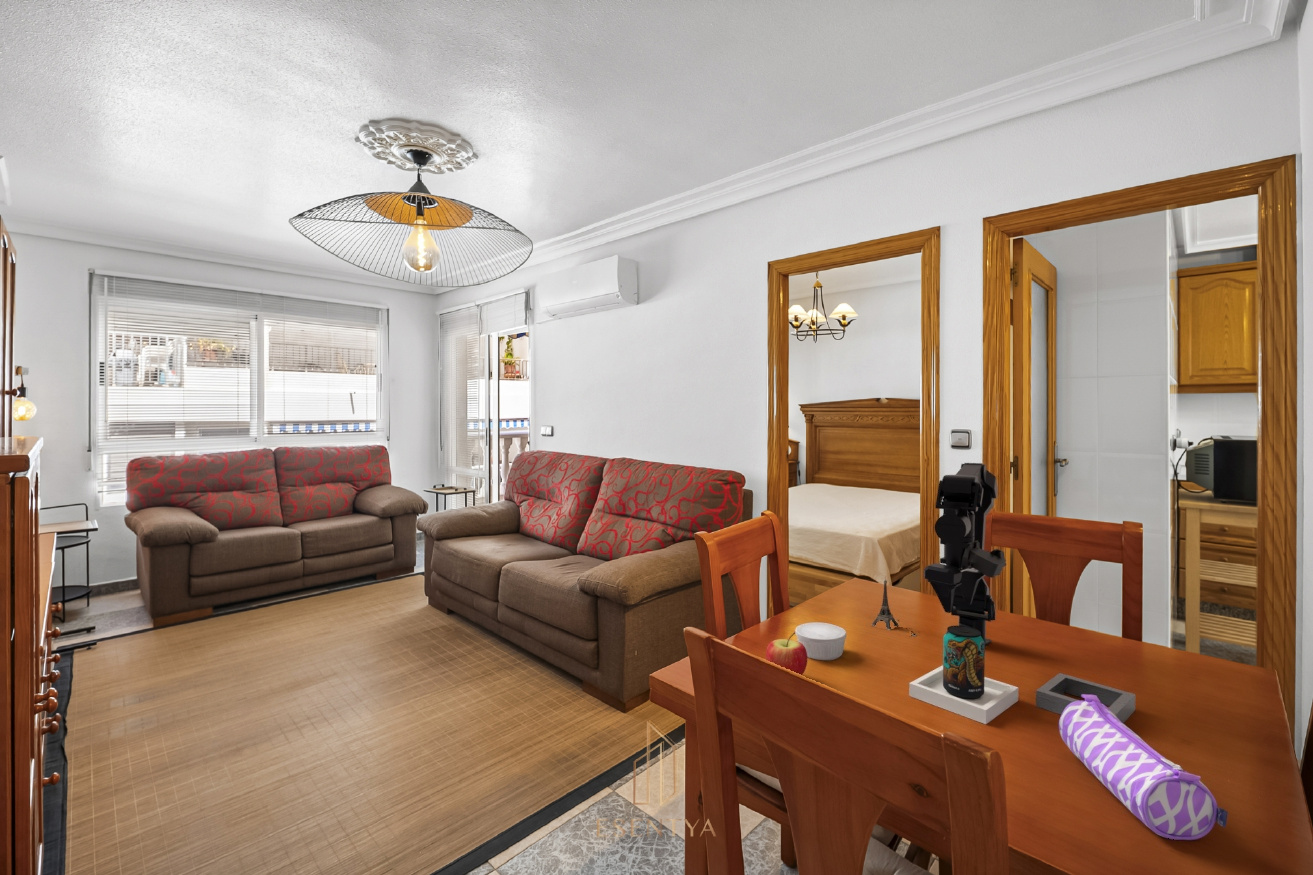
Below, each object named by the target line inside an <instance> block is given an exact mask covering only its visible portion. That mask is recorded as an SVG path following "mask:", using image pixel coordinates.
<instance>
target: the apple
mask: <svg viewBox="0 0 1313 875" xmlns="http://www.w3.org/2000/svg"><path fill="white" fill-rule="evenodd" d="M794 635H796V633H795V631H794V632H793V633H792V634H791V635H790V636H789V637H788V639H787V638H779V639H775V640H772V641H770V643H768V645H767V647H766V653H765V654H766V656H765V657H766V658H765V660H766V661H767V660H768V661H770V662H774V663H775V664H777V665H780V666H781V667H785V668H786V669H790V670H791V671H794V672H796V673H799V674H801V675H802V676H803V675H804V674H805V671H806V669H807V666H808V657H807V651H806V648H805V646H804V645H803V644H802V643H800V642H798V640H794V639H791V638H792V637H793V636H794Z"/></svg>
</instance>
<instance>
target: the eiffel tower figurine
mask: <svg viewBox="0 0 1313 875" xmlns="http://www.w3.org/2000/svg"><path fill="white" fill-rule="evenodd" d="M886 577H887V576H886V575H885V576H884V580H883V593H882V594H883V595H882V596H883V597H882V604H881V605H880V611H879V613H878V614H877V616H876V618H874V621H873V622H872V623H871V624H870V625H873V626H872V627H874V626H875V625H876V623H877V622H879V621H884V622H885V623H886V627H887V630H886V631H889V630H891V627H890V621H891V620H892V622H893V623H894V626H899V625H898V623H897V622H896V621H895V619H896V618H895V617H894V615H893V614H892V613H891V610H890V609H891V608H890V605H889V600H888V591H887V590H888V587H887V583H888V581H887V579H886ZM891 631H892V630H891ZM911 634H912V633H911ZM914 634H915V632H913V635H911V636H910V637H917V634H915V635H914Z"/></svg>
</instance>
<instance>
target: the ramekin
mask: <svg viewBox="0 0 1313 875" xmlns="http://www.w3.org/2000/svg"><path fill="white" fill-rule="evenodd" d="M794 632H795V636H796V641H798V642H800V643H802V644H803V645H804V646H805V648H806V651H807V658H808V659H813V660H816V661H833V660H837V659H839V658H840V657H841V656H842V655H843V653H844V648H845V641H846V639H847V631H846V630H845V629H844V628H843V627H840V626H838V625H835V624H831V623H828V622H827V623H826V622H816V621H815V622H805V623H802V624H799V625H798V626H796V627H795V631H794Z"/></svg>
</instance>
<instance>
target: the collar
mask: <svg viewBox="0 0 1313 875" xmlns="http://www.w3.org/2000/svg"><path fill="white" fill-rule="evenodd" d="M1065 694H1068V695H1071V696H1075V697H1079V698H1081V699H1084V700H1085V698H1083V697H1082V696H1081V695H1082V694H1083V695H1096V696H1097V698H1098V699H1099V700H1100V703H1101V704H1104V705H1105V706H1108V708H1109V709H1110V710H1111V712H1112V713H1113V714H1114V715H1115V716H1116V717H1117V718H1118V719H1119V720H1120V721H1121V722H1122V723H1123V724H1125V722H1126V721H1127V720H1128V719H1129V718H1130V717H1131V716H1132V715H1133V713H1135V711H1136V694H1135V693H1133V692H1127V691H1124V690H1121V689H1117V688H1114V687H1111V686H1107V685H1103V684H1101V683H1096V682H1093V681H1091V680H1086V679H1083V678H1079V677H1076V676H1072V675H1068V674H1065V673H1061V672H1059V673H1058V674H1056V675H1055V676H1054V677H1052V678H1051V679H1050V680H1048V681H1047V682H1045V683H1044V684H1043V685H1041V686H1040V687H1039V688H1037V689H1036V690H1035V707H1036V708H1039V709H1043V710H1046V711H1049V712H1051V713H1055V714H1059V715H1060V716H1061V715H1062V713H1063V711H1064V709H1065V708H1066V707H1067V706H1068V705H1069V704H1070V703H1072V702H1075V701H1081V700H1079V699H1076V698H1073V697H1070V696H1067V695H1065Z"/></svg>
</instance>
